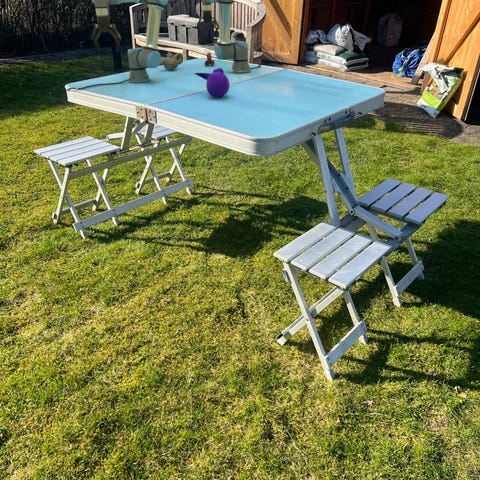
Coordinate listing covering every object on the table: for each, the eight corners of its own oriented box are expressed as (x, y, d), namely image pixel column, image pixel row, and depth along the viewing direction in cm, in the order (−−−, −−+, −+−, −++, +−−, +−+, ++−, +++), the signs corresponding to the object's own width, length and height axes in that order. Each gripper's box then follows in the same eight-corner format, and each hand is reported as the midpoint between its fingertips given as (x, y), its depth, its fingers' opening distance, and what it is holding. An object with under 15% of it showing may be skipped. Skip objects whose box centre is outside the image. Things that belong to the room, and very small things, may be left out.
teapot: (162, 72, 368) (160, 52, 361) (157, 70, 377) (155, 51, 369) (186, 69, 377) (184, 50, 370) (180, 67, 386) (179, 48, 378)
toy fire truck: (215, 64, 399) (214, 51, 393) (212, 66, 388) (211, 53, 383) (207, 64, 400) (206, 51, 394) (204, 66, 389) (203, 53, 384)
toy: (217, 89, 307) (229, 103, 286) (192, 85, 299) (203, 98, 279) (222, 66, 299) (235, 78, 278) (197, 61, 291) (209, 73, 271)
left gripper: (123, 15, 286) (128, 50, 297) (87, 15, 290) (93, 50, 300) (118, 16, 279) (123, 52, 290) (81, 16, 283) (88, 52, 294)
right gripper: (222, 10, 373) (223, 37, 384) (193, 10, 377) (195, 37, 388) (220, 10, 367) (221, 38, 378) (191, 10, 371) (193, 38, 382)
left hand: (108, 51), depth 295 cm, fingers open, 13 cm apart
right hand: (208, 38), depth 383 cm, fingers open, 13 cm apart
